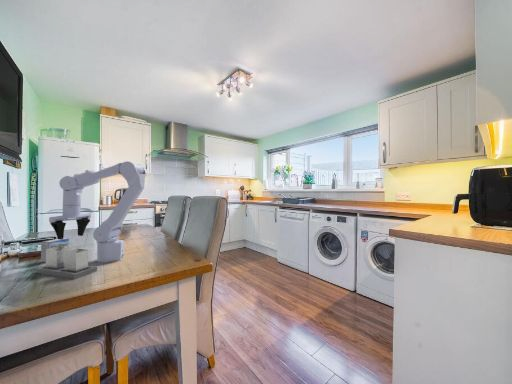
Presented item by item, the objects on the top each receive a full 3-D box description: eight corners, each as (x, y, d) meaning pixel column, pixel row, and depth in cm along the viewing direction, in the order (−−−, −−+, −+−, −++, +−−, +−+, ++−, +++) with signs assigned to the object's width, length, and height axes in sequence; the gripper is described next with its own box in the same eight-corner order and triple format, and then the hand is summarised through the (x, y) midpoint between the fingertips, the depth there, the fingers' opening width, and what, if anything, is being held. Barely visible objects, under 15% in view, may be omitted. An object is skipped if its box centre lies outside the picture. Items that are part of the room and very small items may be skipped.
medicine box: (48, 262, 87) (49, 242, 87) (40, 262, 88) (40, 241, 88) (69, 257, 95) (69, 238, 95) (61, 256, 96) (61, 237, 96)
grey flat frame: (35, 275, 74) (36, 268, 74) (60, 268, 81) (60, 261, 81) (74, 282, 69) (74, 274, 69) (96, 273, 76) (97, 266, 76)
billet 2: (64, 274, 73) (64, 251, 73) (76, 270, 77) (77, 248, 77) (75, 276, 71) (76, 252, 71) (88, 272, 75) (88, 249, 75)
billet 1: (45, 271, 75) (46, 249, 75) (58, 267, 79) (59, 246, 79) (56, 273, 74) (57, 250, 74) (69, 269, 78) (69, 247, 78)
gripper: (82, 203, 97) (82, 233, 97) (44, 205, 83) (42, 240, 83) (94, 204, 95) (93, 234, 95) (56, 206, 81) (55, 241, 81)
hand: (70, 237), depth 89 cm, fingers open, 7 cm apart
